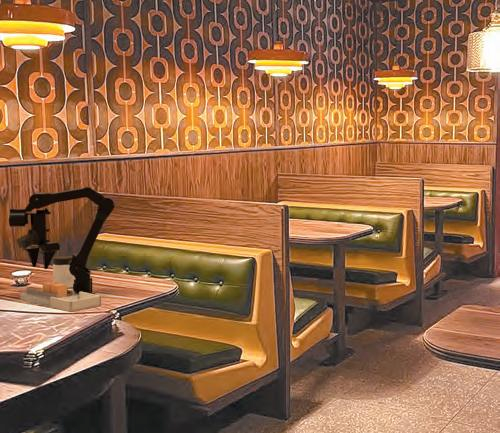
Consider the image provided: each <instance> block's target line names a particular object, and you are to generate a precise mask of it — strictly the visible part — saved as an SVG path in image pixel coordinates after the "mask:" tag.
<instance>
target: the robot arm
mask: <svg viewBox="0 0 500 433" xmlns="http://www.w3.org/2000/svg"><path fill="white" fill-rule="evenodd" d="M84 198H87V200H90V202H93V203H94V204H95V205H97V206H98V207H97V211H96V214H95V218H94V221H93V223H92V224H91V227H90V229H89V231H88V233H87V235H86V237H85V239H84V242H83V244H82V245H81V248H80V250H79V251H78V253H75V252H73V255H72V260H71V261H70V262H69V264H68V265H70V267H69V271H70V273H71V274H72V275H73V276H74V284H73V287H72V288H73V289H72V291H75V293H78V294H79V292H85V293H90V294H95V295H96V292H94V291H93V278H92V277H91V275H92V271H91V269H89V268H88V267H87V263H88V259H89V255H90V252H92V249H93V247H94V244H95V243H96V240H97V238H98V236H99V234H100V232H101V229H102V227H103V226H104V223H105V221H106V220H107V219H108V218H109V217H110V215H111V213H112V212H113V210H114V208H115V200H114V199H113V198H112V197H109V196H104V195H103V194H102V193H100V192H99V191H97V190H95V189H93V187H91V186H89V185H88V186H85V187H80V188H75V189H68V190H63V191H57V192H56V191H55V192H36V193H33V194H32V195H31V196H30V197H29V200H28V204H27V205H26V206H25V208H10V209H9V217H8V225H9V227H10V228H21V227H22V228H26V227H27V225H30V229H29V228H28V230H27V234H24V235H22V236H20V237H18V238H17V239H15V241H16V243H17V244H16V245H18V248H19V249H20V248H21V249H22V250H23V251H24V252H26V253H27V255H28V258H29V260H30V263H31V265H32V267H33V268H36V267H37V263H38V257H39V254H41V255H42V261H43V267H44V269H45V270H48V268H49V266H50V264H51V261H53V257H55V254H56V252H58V251H60V250H61V244H60V243H59V242H58V241H50V239H48V232H50V229H49V228H47V226H48V225H47V224H48V223H47V215H51V214H52V211H51V210H50V209H49V208H48V207H47V206H51V205H54V204H57V203H61V202H66V201H72V200H77V199H84ZM45 207H46V208H45ZM42 208H44V209H42ZM33 210H36V211H35V212H31V211H33ZM40 250H41V251H40Z"/></svg>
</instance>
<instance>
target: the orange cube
mask: <svg viewBox="0 0 500 433" xmlns="http://www.w3.org/2000/svg"><path fill="white" fill-rule="evenodd" d="M67 290H68V288H67V284H62V283H58V284H52V285H51V293H55V294H58V297H61V296H66V295H67Z"/></svg>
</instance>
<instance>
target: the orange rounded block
mask: <svg viewBox="0 0 500 433" xmlns="http://www.w3.org/2000/svg"><path fill="white" fill-rule="evenodd" d="M52 284H58V283H57V282H53V281H48V282H43V283H42V289H43V291H47V292H51V285H52Z"/></svg>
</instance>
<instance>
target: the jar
mask: <svg viewBox="0 0 500 433" xmlns="http://www.w3.org/2000/svg"><path fill="white" fill-rule="evenodd" d="M72 257H73V255H57V256H53V258H52V282H57V283H62V284H67V289H69V288H73V284H74V279H75V277H74V276H73V275H72V274H71V273H70V271H69V267H70V265H68V264H69V262H70V261H71V260H72Z"/></svg>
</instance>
